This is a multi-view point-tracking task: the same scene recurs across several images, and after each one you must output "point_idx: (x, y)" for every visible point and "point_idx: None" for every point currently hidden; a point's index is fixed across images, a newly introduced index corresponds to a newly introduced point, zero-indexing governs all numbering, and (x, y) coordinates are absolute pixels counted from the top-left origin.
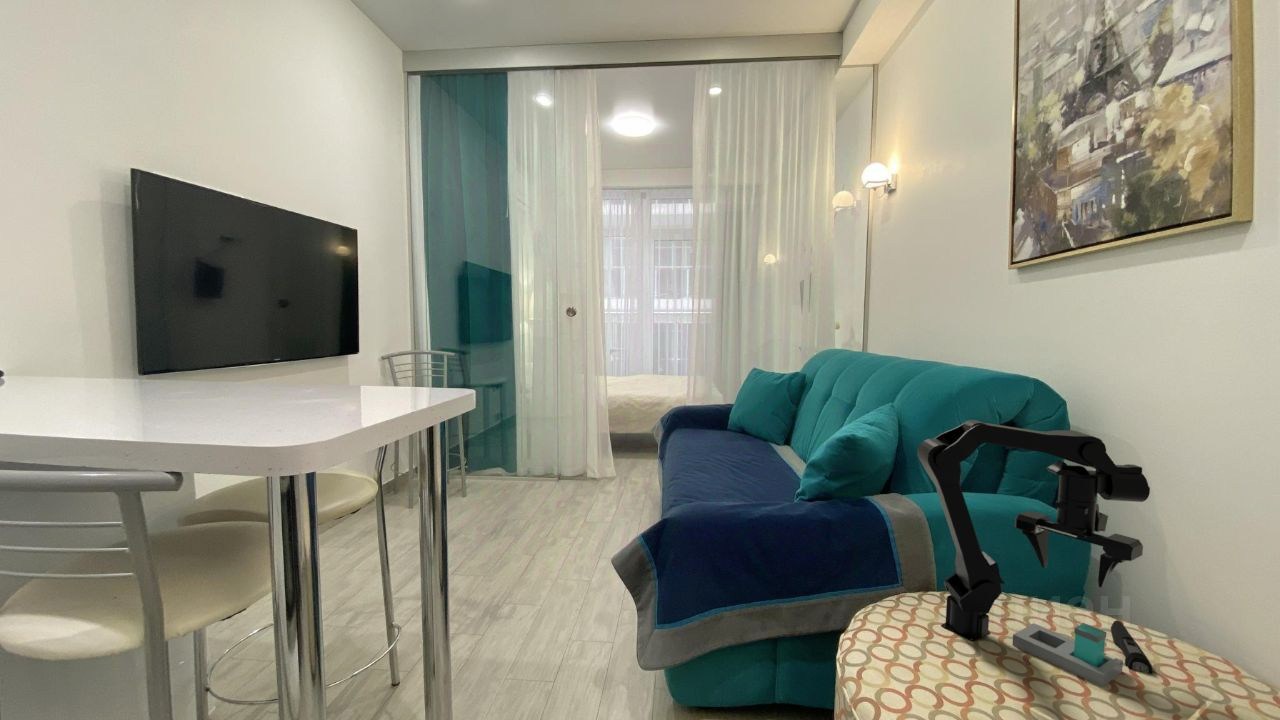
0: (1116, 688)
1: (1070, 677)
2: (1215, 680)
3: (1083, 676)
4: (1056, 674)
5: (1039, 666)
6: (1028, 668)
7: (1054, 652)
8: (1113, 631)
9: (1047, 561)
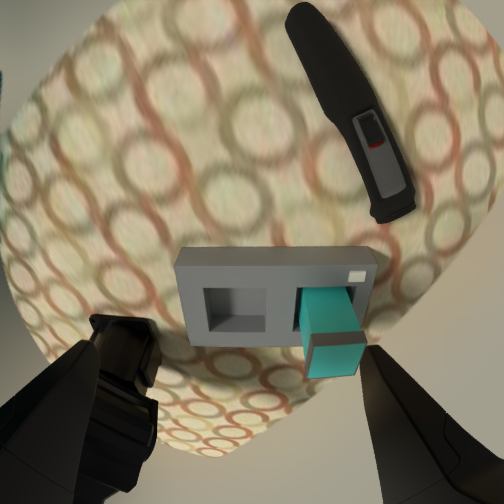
0: None
1: None
2: (481, 106)
3: None
4: None
5: None
6: (249, 358)
7: (271, 345)
8: (305, 59)
9: (79, 366)
